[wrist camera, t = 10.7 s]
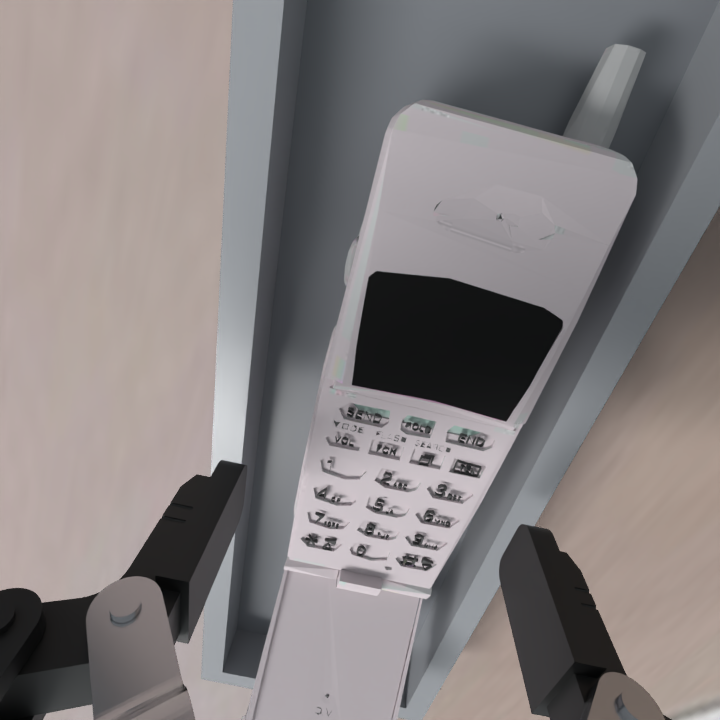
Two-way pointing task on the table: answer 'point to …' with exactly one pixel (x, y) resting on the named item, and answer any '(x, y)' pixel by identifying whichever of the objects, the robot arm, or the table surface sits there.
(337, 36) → the phone dock
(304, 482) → the mobile phone
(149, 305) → the table surface
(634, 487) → the table surface
